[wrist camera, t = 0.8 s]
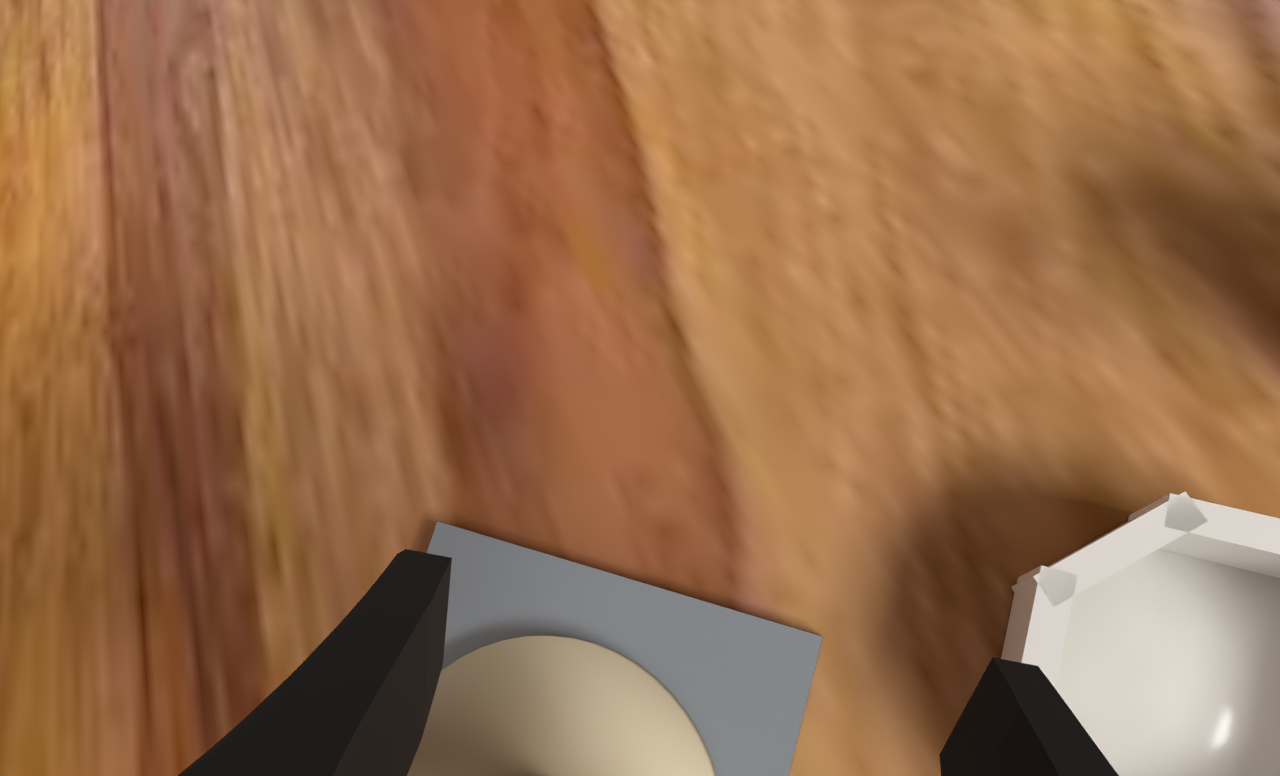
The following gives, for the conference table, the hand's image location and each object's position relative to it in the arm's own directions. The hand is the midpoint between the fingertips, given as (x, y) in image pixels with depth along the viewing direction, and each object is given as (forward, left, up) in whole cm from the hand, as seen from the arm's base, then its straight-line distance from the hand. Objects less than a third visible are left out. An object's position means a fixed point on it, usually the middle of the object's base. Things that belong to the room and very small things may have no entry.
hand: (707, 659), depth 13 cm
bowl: (+2, -10, -15) cm, 18 cm away
